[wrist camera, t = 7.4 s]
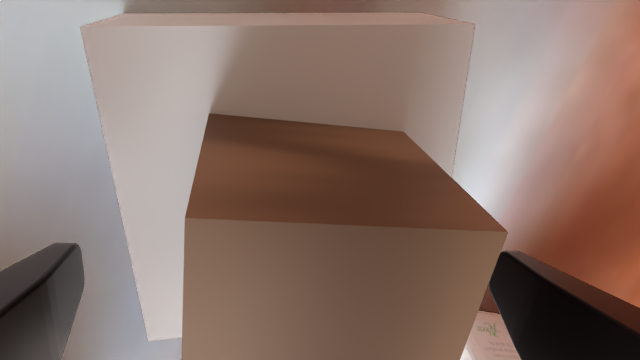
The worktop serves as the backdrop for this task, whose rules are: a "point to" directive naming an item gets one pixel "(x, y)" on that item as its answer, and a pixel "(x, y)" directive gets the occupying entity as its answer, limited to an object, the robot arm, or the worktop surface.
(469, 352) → the syrup box
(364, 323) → the walnut cube
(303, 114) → the base block
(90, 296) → the worktop surface
